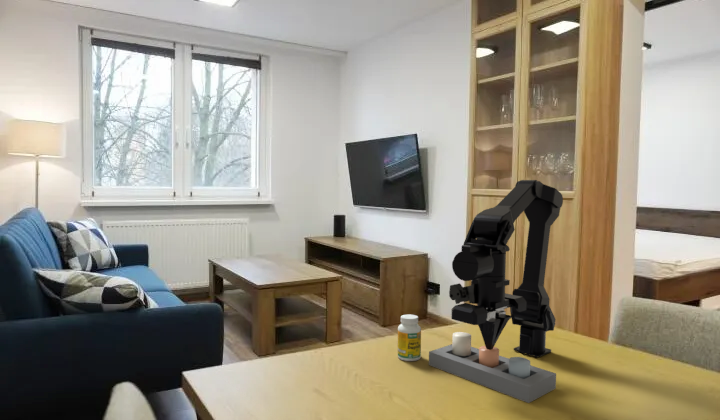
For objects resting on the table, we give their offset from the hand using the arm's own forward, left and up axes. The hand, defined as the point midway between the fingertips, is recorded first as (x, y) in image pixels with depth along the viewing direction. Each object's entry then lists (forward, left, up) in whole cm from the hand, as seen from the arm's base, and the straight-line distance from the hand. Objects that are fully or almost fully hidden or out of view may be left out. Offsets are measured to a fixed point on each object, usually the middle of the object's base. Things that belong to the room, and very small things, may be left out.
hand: (489, 348), depth 99 cm
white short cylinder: (0, -7, -3) cm, 7 cm away
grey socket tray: (0, 0, -6) cm, 6 cm away
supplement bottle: (+5, -18, -6) cm, 20 cm away
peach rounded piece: (0, 0, -4) cm, 4 cm away
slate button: (0, +7, -4) cm, 8 cm away
